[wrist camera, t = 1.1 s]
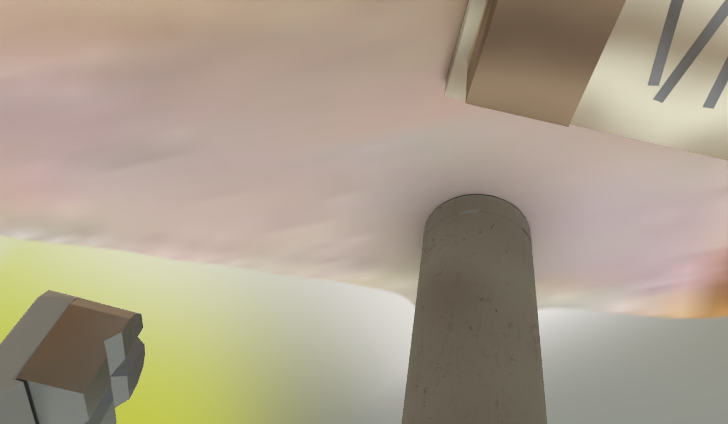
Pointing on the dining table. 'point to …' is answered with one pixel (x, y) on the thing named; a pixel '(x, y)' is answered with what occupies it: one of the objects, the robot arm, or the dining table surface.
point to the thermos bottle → (475, 319)
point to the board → (647, 74)
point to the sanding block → (538, 55)
